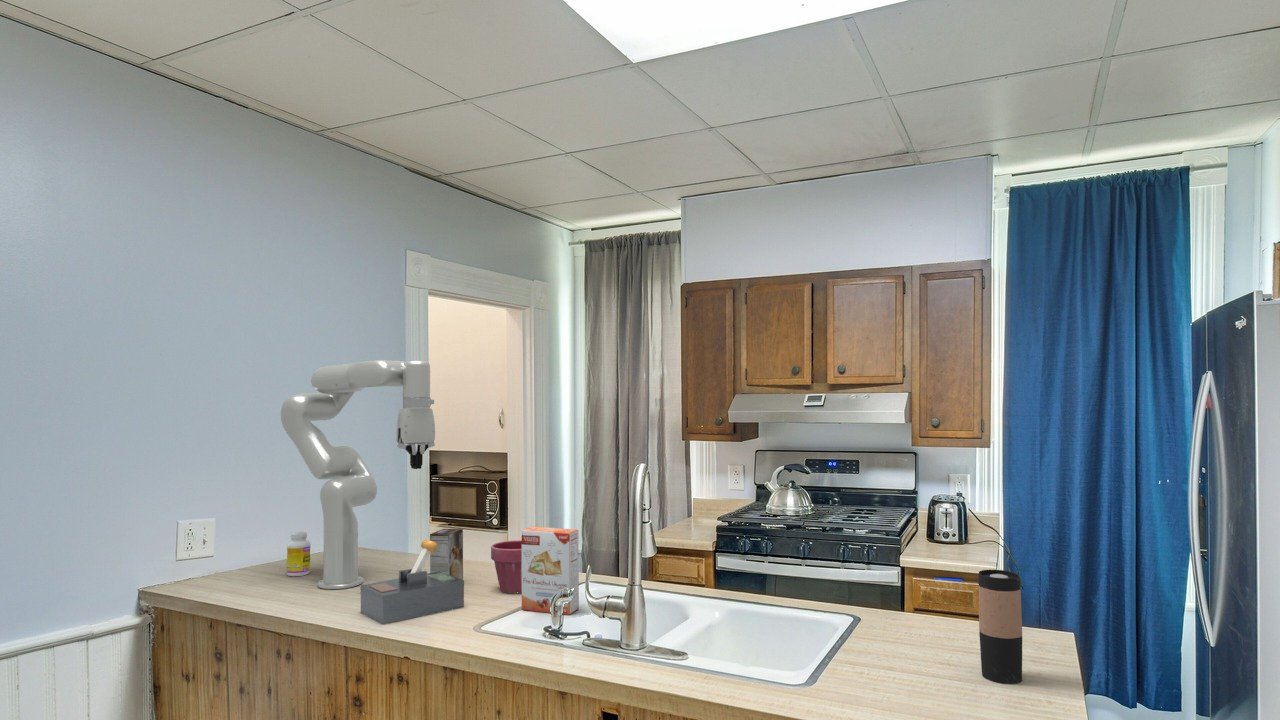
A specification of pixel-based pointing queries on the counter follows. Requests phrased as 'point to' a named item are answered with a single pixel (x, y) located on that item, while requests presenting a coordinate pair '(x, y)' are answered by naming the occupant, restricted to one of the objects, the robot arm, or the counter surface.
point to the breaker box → (411, 596)
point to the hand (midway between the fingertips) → (416, 468)
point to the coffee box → (447, 552)
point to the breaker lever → (424, 555)
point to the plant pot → (508, 565)
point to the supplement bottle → (298, 555)
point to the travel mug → (1000, 626)
